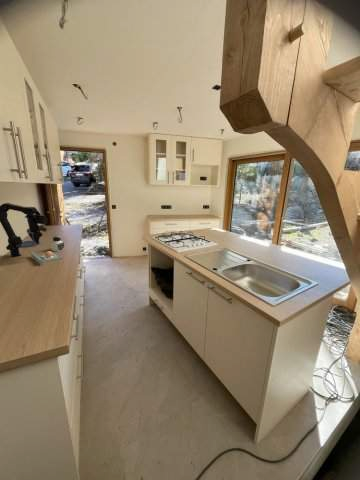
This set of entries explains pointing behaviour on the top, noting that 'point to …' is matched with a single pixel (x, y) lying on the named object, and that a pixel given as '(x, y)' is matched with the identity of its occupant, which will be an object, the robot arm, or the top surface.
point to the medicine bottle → (57, 244)
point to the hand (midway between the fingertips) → (35, 242)
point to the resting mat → (53, 257)
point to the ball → (48, 254)
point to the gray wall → (36, 258)
